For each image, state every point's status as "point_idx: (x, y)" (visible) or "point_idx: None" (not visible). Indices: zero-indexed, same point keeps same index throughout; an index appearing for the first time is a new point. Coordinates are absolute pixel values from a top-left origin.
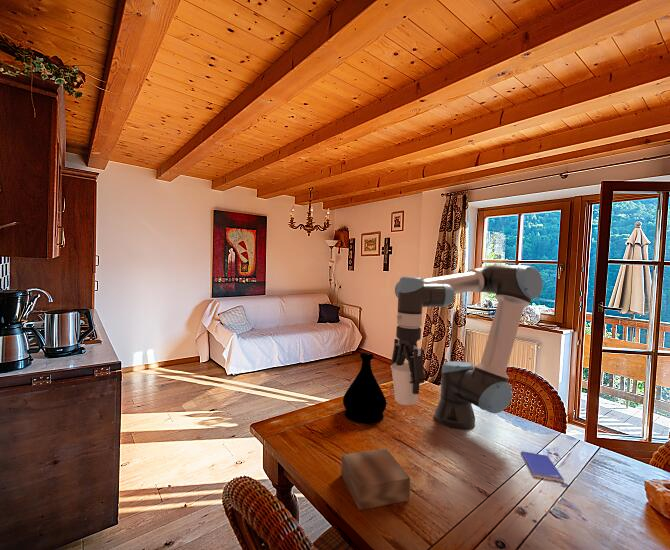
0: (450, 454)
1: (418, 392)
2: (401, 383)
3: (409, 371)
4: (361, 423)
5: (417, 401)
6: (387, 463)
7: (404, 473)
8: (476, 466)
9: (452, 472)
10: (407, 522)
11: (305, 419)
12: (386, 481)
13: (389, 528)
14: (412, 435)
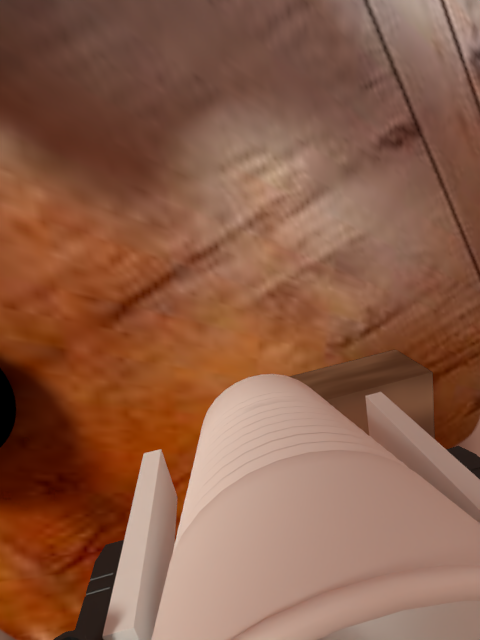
0: (212, 144)
1: (476, 458)
2: (405, 611)
3: (179, 580)
4: (14, 418)
5: (389, 403)
6: (365, 417)
7: (413, 382)
8: (287, 77)
9: (310, 188)
10: (448, 367)
11: (16, 576)
12: (433, 430)
13: (453, 402)
14: (82, 246)
